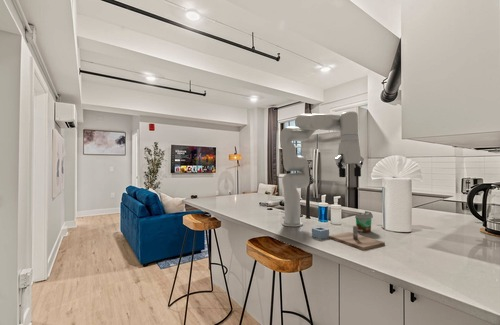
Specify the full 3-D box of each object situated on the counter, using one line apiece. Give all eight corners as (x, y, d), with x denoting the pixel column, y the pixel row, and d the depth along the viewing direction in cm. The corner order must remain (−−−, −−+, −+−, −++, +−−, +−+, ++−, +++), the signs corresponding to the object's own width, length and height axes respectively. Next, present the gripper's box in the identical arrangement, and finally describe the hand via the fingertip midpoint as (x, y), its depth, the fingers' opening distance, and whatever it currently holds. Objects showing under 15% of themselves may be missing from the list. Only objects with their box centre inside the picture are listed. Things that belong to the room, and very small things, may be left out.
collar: (311, 236, 127) (311, 228, 127) (320, 234, 129) (320, 226, 129) (320, 239, 121) (319, 230, 121) (329, 237, 124) (329, 229, 124)
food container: (367, 235, 127) (366, 215, 127) (355, 232, 132) (355, 214, 132) (377, 230, 135) (376, 212, 135) (365, 228, 140) (365, 210, 140)
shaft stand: (329, 238, 123) (328, 223, 123) (349, 234, 129) (348, 220, 129) (363, 250, 105) (363, 233, 105) (384, 245, 111) (384, 229, 111)
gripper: (355, 140, 119) (356, 175, 119) (329, 139, 112) (329, 177, 111) (369, 139, 113) (370, 176, 112) (342, 137, 105) (342, 177, 105)
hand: (350, 176), depth 112 cm, fingers open, 9 cm apart
